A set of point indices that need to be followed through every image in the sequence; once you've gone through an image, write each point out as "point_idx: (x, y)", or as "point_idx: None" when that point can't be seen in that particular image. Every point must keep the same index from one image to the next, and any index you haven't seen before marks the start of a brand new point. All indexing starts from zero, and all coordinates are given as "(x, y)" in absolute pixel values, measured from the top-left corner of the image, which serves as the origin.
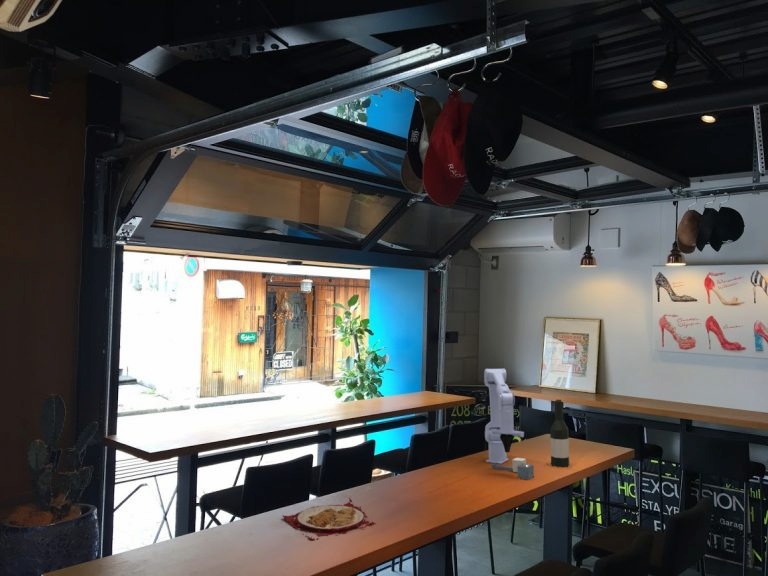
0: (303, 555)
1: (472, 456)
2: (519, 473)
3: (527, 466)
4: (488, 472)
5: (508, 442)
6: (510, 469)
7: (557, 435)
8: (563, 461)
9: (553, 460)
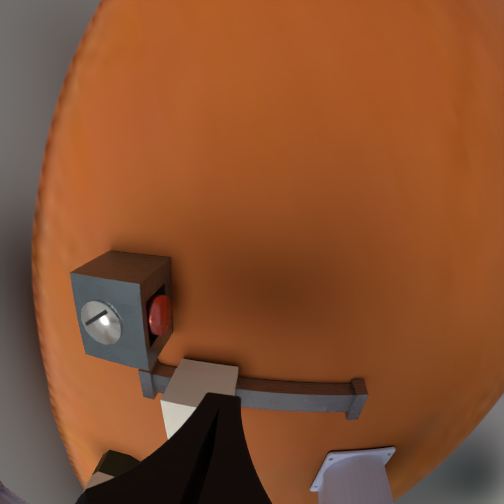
0: None
1: (434, 465)
2: (147, 266)
3: (87, 302)
4: (371, 312)
5: (150, 468)
6: (256, 385)
7: None
8: (101, 464)
9: None
